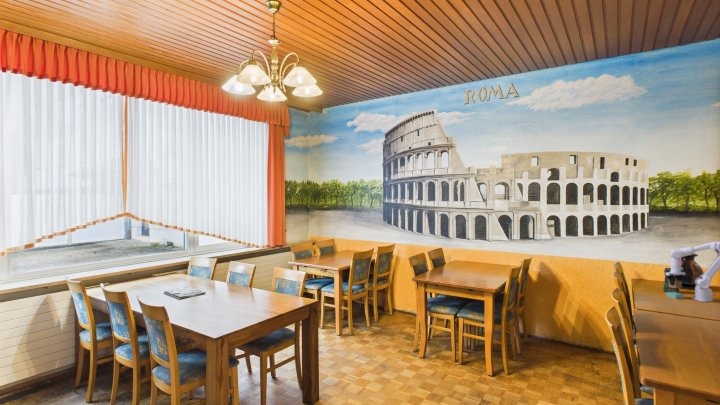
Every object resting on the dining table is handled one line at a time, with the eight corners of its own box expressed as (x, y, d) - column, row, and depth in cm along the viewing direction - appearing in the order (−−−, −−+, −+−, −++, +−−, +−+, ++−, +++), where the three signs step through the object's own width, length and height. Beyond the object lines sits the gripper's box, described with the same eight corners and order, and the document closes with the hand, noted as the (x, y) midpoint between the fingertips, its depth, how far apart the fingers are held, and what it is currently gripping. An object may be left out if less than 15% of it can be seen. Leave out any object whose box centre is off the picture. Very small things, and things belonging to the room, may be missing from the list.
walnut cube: (674, 286, 278) (674, 279, 278) (681, 288, 273) (681, 281, 273) (668, 286, 278) (668, 279, 277) (675, 288, 273) (675, 281, 273)
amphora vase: (672, 283, 321) (673, 250, 320) (706, 288, 304) (707, 253, 303) (666, 286, 307) (667, 253, 306) (701, 292, 290) (702, 256, 290)
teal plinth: (674, 295, 280) (674, 291, 279) (683, 298, 273) (683, 294, 273) (666, 296, 278) (666, 292, 278) (675, 298, 271) (675, 294, 271)
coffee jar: (662, 291, 292) (663, 268, 291) (663, 289, 298) (664, 266, 297) (679, 294, 285) (680, 269, 285) (679, 292, 291) (680, 268, 291)
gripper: (678, 265, 280) (678, 283, 280) (662, 265, 278) (661, 283, 278) (688, 267, 273) (687, 285, 273) (671, 267, 271) (670, 286, 271)
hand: (675, 285), depth 275 cm, fingers closed on walnut cube, 5 cm apart
